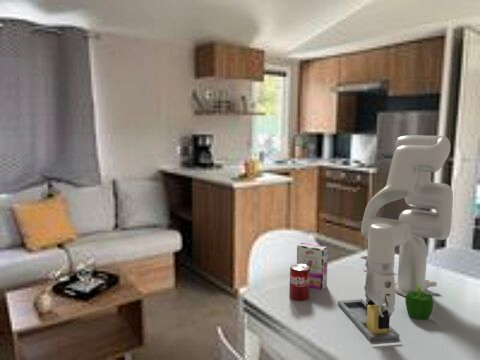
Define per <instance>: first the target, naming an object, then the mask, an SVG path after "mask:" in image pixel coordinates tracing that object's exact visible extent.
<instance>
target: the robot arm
mask: <svg viewBox="0 0 480 360" xmlns="http://www.w3.org/2000/svg"><path fill="white" fill-rule="evenodd" d="M450 152H451V142H450V140H449V138H448V137H447V136H443V135H424V134H423V135H422V134H421V135H419V134H417V135H416V134H415V135H414V134H413V135H412V134H410V135H402V136H399V137H397V139H396V141H395V150H394V152H393V155H392V159H391V163H390V167H389V171H388V176H387V181H386V184H385V186H384V187H383V188H382V189H381V190H379V191H377V193H376V194H375V195H374V196H372V198H371V199H370V200H369V201H368V202H367V205H366V206H365V210H364V213H363V217H362V221H361V226H360V231H361V235H362V237H363V238H364V239H366V240H368V241H367V249H368V254H367V255H366V256H367V260H366V261H367V265H366V276H365V285H364V286H363V287H364V292H365V293H364V294H365V295H364V296H365V302H366V303H367V304H366V316H367V305H377V306H379V311H380V316H379V320H378V328H379V329H388V328H389V325H390V322H391V321H390V318H391V317H392V315H393V313H394V311H396V310H395V305H396V293H397V294H399V295H401V296H404V297H406V296H407V294H408V292H409V291H410V290H412V291H418V288H417V287H416V286H417V285H418V286H420V287H421V291H422V292H424V293H425V294H429V295H430V292H429V291H430V290H429V289H428V288H432V287H438V286H437V285H438V284H437V281H433V280H432V281H430V279H426V272H427V261H428V260H427V258H428V247H427V244H426V242H425V240H424V239H423V238H427V239H428V238H429V239H434V240H441V241H443V240H446V239H448V238H449V237H450V235H451V230H452V222H453V221H452V220H453V219H452V218H453V206H454V205H453V202H454V201H453V200H454V193H453V192H454V191H453V188H452V187H451V186H450V185H449V184H447V183H443V182H442V183H441V182H432V181H431V179H432V173H436V172H438V171H440V170H441V168H442V167H443V166H444V164H445V162H446V161H447V159H448V158H449V156H450ZM401 199H404V200H405V203H406V205H407V206H411V207H414V208H421V209H422V208H423V209H431V210H435V211H436V212H435V211H427V210H421V209H405V210H403V211H401V213H400V214H399V216H398V219H393V218H386V217H381V216H380V217H379V216H376V215H377V213H378V211H379V210H380V208H382V207H383V206H385V205H387V204H389V203H392V202H395V201H398V200H401ZM396 247H399V254H398V271H397V282H396V281H395V274H394V267H395V257H396V256H395V253H396ZM384 307H385V308H386V310H385V311H384V312H383V308H384Z"/></svg>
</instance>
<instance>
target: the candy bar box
mask: <svg viewBox="0 0 480 360" xmlns="http://www.w3.org/2000/svg"><path fill="white" fill-rule="evenodd" d="M296 249H297V250H296V264H305V265H307V266H309V268H310V289H317V290H321V291H323V290H324V289H326V288H327V287H328V262H329V261H328V260H329V259H328V257H329V254H328V253H329V246H323V245H318V244H313V243H312V244H311V243H305V242H301V243H299V244H297V246H296Z"/></svg>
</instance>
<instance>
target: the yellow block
mask: <svg viewBox="0 0 480 360" xmlns="http://www.w3.org/2000/svg"><path fill="white" fill-rule="evenodd" d="M385 310H386V307H384V308H383V312H384V311H385ZM379 316H380V311H379V306H377V305H367V321H366V328H367V329H368V330H369V331H370V332H371V334H377V333H387V329H379V328H378V320H379Z"/></svg>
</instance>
